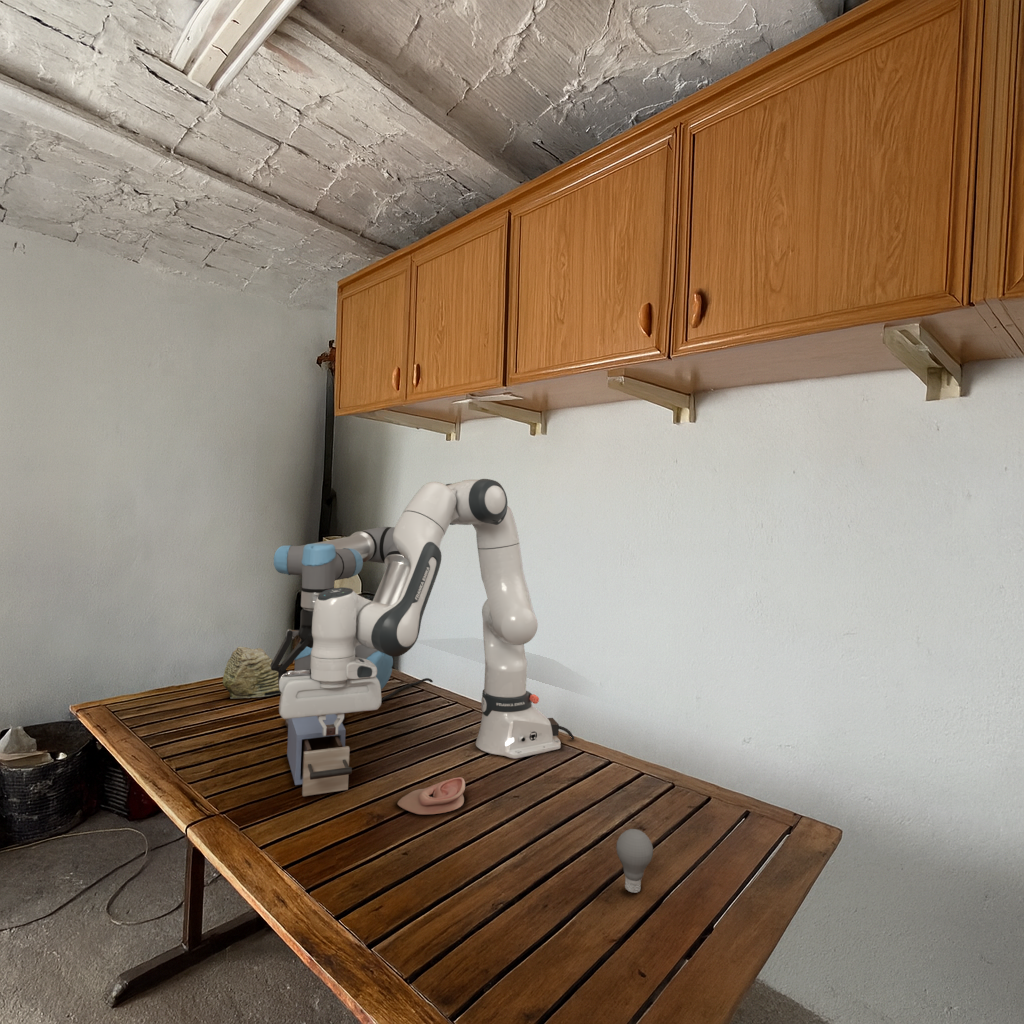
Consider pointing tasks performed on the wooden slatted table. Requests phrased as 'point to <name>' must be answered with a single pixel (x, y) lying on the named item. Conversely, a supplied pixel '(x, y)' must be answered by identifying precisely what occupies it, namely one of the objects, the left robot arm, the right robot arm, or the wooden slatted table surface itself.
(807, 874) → the wooden slatted table surface
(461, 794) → the anatomical model
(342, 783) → the drawer
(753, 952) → the wooden slatted table surface
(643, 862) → the light bulb
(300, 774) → the cabinet
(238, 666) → the fossil
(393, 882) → the wooden slatted table surface
